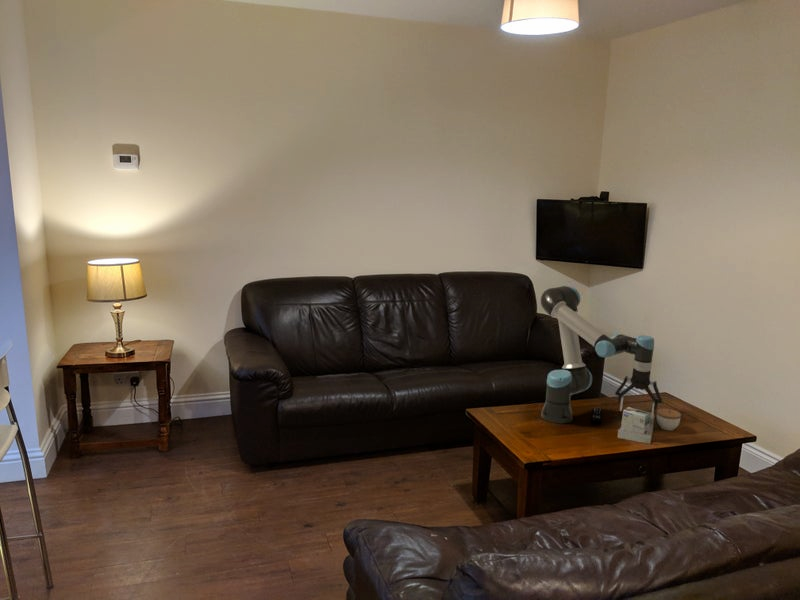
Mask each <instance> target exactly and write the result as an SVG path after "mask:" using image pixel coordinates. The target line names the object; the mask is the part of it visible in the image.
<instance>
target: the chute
mask: <svg viewBox="0 0 800 600" xmlns="http://www.w3.org/2000/svg"><path fill="white" fill-rule="evenodd" d="M620 424H621V425H620V428H618V429H617V438H618V439H622V440H627V441H633V442H639V443H644V444H648V445H649V444H651V443H652V442H651V441H652V436H653V431H654V427H653V424H650V425H649V434H648V435H647V434H642V433H637V432H631V431H626V430H621V429H622V421H621V423H620Z"/></svg>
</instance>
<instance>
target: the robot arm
mask: <svg viewBox="0 0 800 600" xmlns="http://www.w3.org/2000/svg"><path fill="white" fill-rule="evenodd" d="M580 303H581V294H580V292H579V291H578V290H577V289H576V288H575V287H573V286H572V285H571V286H570V285H563V286H557V287H552V288H551V287H550V288H547V289H546V290H544V291H543V293H542V294H541V297H540V305H541V307H542V309H543V311H544V312H545V313H547V314H548V315H549V316H550V317H551V318H557V321H558V327H559V328H558V329H559V335H560V336H559V337H560V341H561V348H562V355H563V361H564V363H563V365H562V367H561V368H562V369H554V370H551V371H550V372H549V373H548V374H547V379H546V389H545V390H546V393H545V402H544V405H543V407H542V409H541V414H540V417H541V418H542V419H543V420H545V421H546V422H549V423H553V424H569V423H570V422H572V421H573V418H574V417H573V416H574V415H573V411H572V407H571V396H572V395H575V394H579V393H583V392H585V391H586V390H588V389H589V388H590V387H591V386H592V383H593V375H592V373H591V371H589V369H588V368H587V366H586V363H584V362H583V359H582V355H581V354H582V353H581V347H580V339H579V337H581V338H582V339H584V340H585V341H586V342H587V343H589V345H591V346H592V347H593V348H595V352H596V354H597V356H598V357H600V358H611V357H613V356H616V355H620V354H624V353H627V354H630V355H634V358H633V359H634V360H633V368H632V376H631V377H629V376H628V375H627V376H626V375H625V377H624V380H623V381H622V382H621V384H620V385H619V386H618V388H617V389H616V390H615V393H614V394H615V396H618V401H617V403H618V404H620V406H619V411H620V412H621V411H622V410H623V404H624V396H625V395H626V394H627V393H628V392H629V391H631V390H633V389H635V390H642V391H643V390H645V391H646V393H647V394H648V395H649V397H650V398H651V399H652V401H653V402H652V407H651V412H650V413H651V417H653V414H655V413H654V411H657V410H658V404H662V403H663V398H662V396H661V394H660V391H659V388H658V385H657V381H656V380H653V381H651V380H650V379H651V370H652V364H653V354H654V350H655V338H654V337H653V336H650V335H645V334H642V335H637V336H636V337H632V336H629V335H625V334H622V333H621V334H620V333H614V334H613V335H612V336H611V337H609V336H607V334H604V333H603V332H602V331H601V330H599V329H598V328H597V327H595V326H594V325H593V324H591V323H590V322H589V320H588V321H587V320H586V319H585V318H584V317H582V316H581V315H580V314H578V306H579V305H580ZM629 382H630V383H631V384H630V385H629V386H627V387H626V388H625V389H623V388H624V386H625V385H626V384H627V383H629ZM650 385H651V387H653V391H654V393H655V395H656V396H655V395H654V393H653V392H652V390H651V389H650V387H649V386H650ZM622 389H623V390H622ZM622 412H623V411H622Z"/></svg>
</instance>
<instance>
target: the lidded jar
mask: <svg viewBox="0 0 800 600" xmlns="http://www.w3.org/2000/svg"><path fill="white" fill-rule="evenodd" d="M681 417H682V414H681V413H680V412H679V411H677V410H674V409H671V408H659V409H658V408H657V409H656V421H657V424H658V426H659V427H660V429H662V430H664V431H674V430H675V429H676V428H677V427H679V425H680V422H681Z"/></svg>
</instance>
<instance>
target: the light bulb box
mask: <svg viewBox="0 0 800 600" xmlns="http://www.w3.org/2000/svg"><path fill="white" fill-rule="evenodd" d="M624 409H625V410H624ZM624 409H622V410H623V411H622V415H623V418H621V422H622V429H621V430H626V431H631V432H637V433H642V434H647V435H648V434H649V425H650V414H651V413H652V412H649V411H645V410H641V409H637V408H633V407H630V406H628V407H626V408H624Z"/></svg>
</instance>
